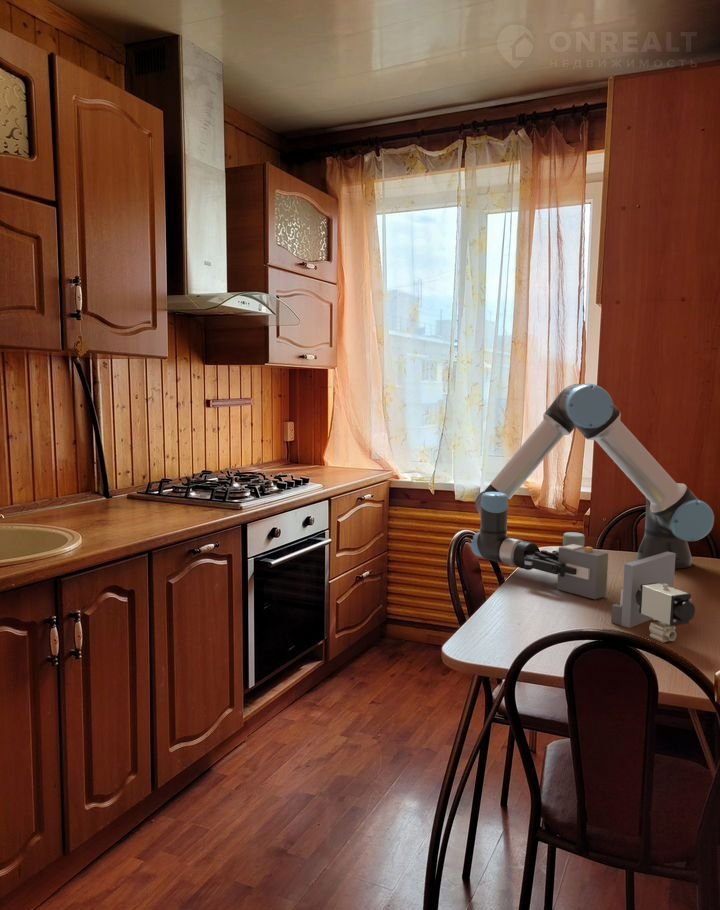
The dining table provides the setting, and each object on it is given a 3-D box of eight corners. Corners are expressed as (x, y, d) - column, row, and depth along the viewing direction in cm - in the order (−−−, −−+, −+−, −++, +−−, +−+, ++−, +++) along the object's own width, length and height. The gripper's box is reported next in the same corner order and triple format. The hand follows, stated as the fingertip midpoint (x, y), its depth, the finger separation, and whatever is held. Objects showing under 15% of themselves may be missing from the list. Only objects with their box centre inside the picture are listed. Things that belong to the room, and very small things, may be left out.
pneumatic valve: (676, 651, 141) (680, 593, 140) (632, 631, 152) (635, 577, 150) (696, 647, 143) (700, 590, 142) (651, 628, 154) (655, 575, 153)
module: (568, 585, 184) (570, 540, 183) (606, 595, 176) (608, 549, 175) (557, 588, 181) (559, 543, 180) (594, 599, 173) (597, 551, 171)
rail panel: (653, 606, 169) (657, 549, 168) (672, 610, 166) (675, 553, 164) (611, 622, 157) (614, 561, 156) (629, 628, 154) (633, 565, 152)
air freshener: (562, 572, 198) (564, 538, 197) (548, 565, 206) (549, 531, 205) (597, 570, 201) (598, 536, 200) (582, 563, 209) (583, 530, 208)
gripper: (539, 562, 199) (614, 580, 181) (498, 572, 188) (574, 593, 170) (540, 536, 198) (616, 552, 180) (499, 545, 187) (575, 563, 169)
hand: (595, 572), depth 175 cm, fingers closed on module, 5 cm apart
